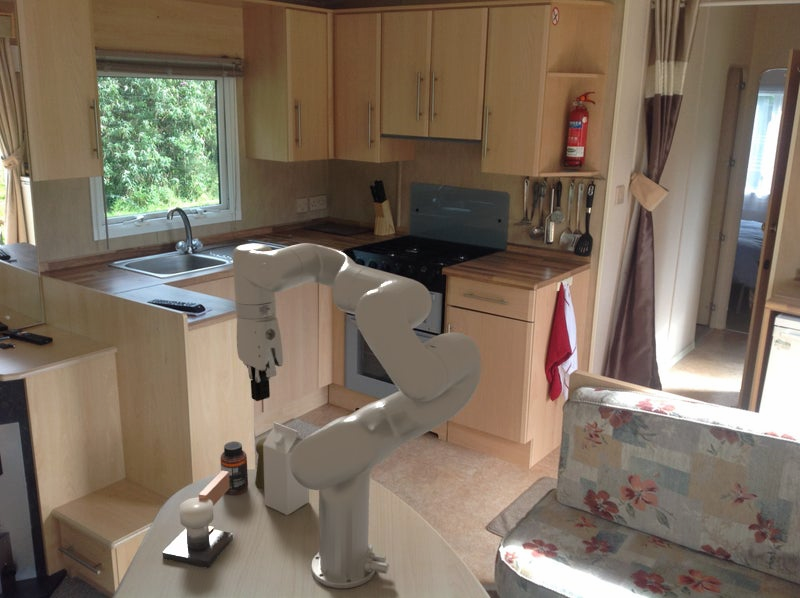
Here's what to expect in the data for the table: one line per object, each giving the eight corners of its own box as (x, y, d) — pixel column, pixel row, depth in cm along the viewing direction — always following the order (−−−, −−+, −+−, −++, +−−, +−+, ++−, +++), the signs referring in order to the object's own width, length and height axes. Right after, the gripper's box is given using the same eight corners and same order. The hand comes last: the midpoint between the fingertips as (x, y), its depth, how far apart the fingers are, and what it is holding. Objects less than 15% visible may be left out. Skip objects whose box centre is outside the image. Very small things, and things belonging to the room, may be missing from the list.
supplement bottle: (237, 479, 176) (235, 436, 173) (253, 488, 173) (252, 444, 169) (216, 489, 172) (214, 445, 169) (232, 498, 168) (230, 453, 165)
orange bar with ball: (203, 530, 144) (202, 512, 143) (174, 525, 146) (172, 507, 145) (239, 489, 159) (239, 473, 158) (212, 485, 160) (211, 468, 159)
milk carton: (286, 492, 172) (285, 416, 166) (309, 502, 168) (308, 425, 162) (264, 505, 166) (262, 427, 161) (287, 516, 162) (286, 437, 157)
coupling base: (232, 539, 153) (231, 511, 151) (208, 568, 144) (206, 539, 142) (189, 530, 156) (188, 503, 154) (162, 558, 147) (160, 530, 145)
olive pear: (275, 490, 172) (274, 448, 169) (251, 487, 173) (249, 444, 170) (284, 478, 178) (283, 436, 175) (260, 474, 179) (259, 433, 176)
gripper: (294, 313, 139) (297, 404, 143) (253, 298, 149) (257, 383, 154) (259, 321, 134) (264, 415, 139) (219, 304, 145) (225, 392, 149)
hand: (260, 398), depth 146 cm, fingers closed
